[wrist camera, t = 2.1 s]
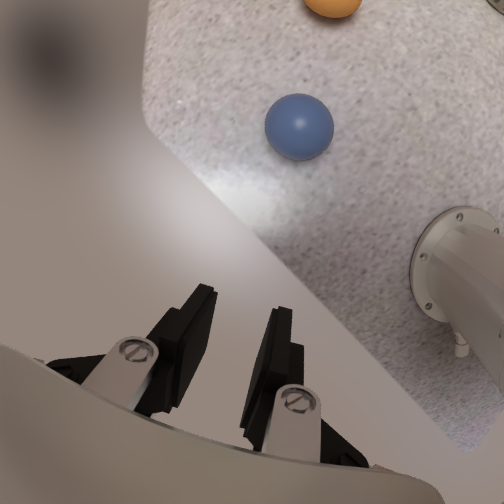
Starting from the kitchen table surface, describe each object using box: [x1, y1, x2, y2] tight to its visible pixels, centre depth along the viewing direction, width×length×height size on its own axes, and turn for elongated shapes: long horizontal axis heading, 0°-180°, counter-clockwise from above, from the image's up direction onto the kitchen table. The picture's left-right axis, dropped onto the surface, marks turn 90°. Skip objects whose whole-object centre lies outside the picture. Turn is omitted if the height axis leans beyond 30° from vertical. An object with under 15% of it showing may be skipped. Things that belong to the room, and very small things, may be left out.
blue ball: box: [265, 94, 334, 160], centre depth 22 cm, size 6×6×6 cm
